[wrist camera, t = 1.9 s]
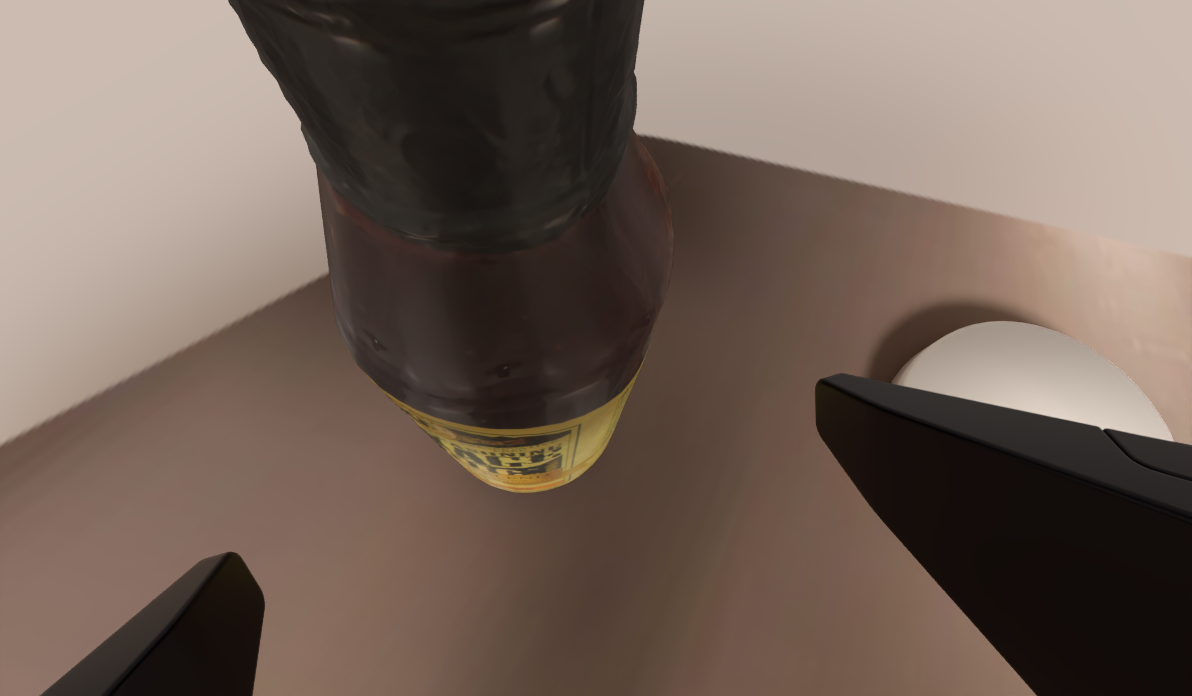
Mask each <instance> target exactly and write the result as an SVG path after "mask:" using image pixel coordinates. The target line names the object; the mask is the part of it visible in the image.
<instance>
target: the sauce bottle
mask: <svg viewBox="0 0 1192 696" xmlns="http://www.w3.org/2000/svg"><path fill="white" fill-rule="evenodd" d="M228 1H229V3H230V5H231V6H232V8H233V9H234V10H235V12H236V13H237V14H238V16H239V18H240V20H241V22H242V25H243V27H244V29H245V31H246V33H247V35H248V36H249V38H250V40H251V41H252V43H253V44H254V46H255V47H256V49H257V51H258V54H259V57H260V59H261V61H262V63H263V64H264V65H265V66H266V68H267V69H268V70H269V71H270V72H271V74H272V75H273V76H274V77H275V79H276V80H277V82H278V84H279V86H280V88H281V90H282V92H283V95H284V97H285V98H286V100H287V101H288V103H289V104H290V105H291V106H292V108H293V109H294V111H295V112H296V114H297V116H298V118H299V119H300V121H301V131H302V133H303V135H304V137H305V140H306V142H307V145H308V148H309V152H310V154H311V156H312V158H313V160H314V162H315V163H316V168H317V177H318V185H319V193H320V202H321V210H322V218H323V226H324V234H325V242H326V249H327V258H328V266H329V273H330V281H331V289H332V297H333V305H334V313H335V318H336V324H337V327H338V330H339V333H340V336H341V338H342V340H343V342H344V344H345V346H346V348H347V350H348V352H349V353H350V355H351V356H352V357H353V359H354V360H355V362H356V363H357V365H358V366H359V367H360V368H361V370H362V371H363V372H364V373H365V374H366V375H367V376H368V377H369V378H370V379H371V380H372V381H373V382H374V383H375V384H376V385H377V386H378V387H379V388H380V389H381V390H382V391H383V392H384V393H385V395H386V396H387V397H388V398H389V399H391V400H392V401H393V402H394V403H395V404H396V405H397V406H399V407H400V408H401V410H402V411H404V412H405V413H406V414H408V415H409V416H410V417H411V418H412V420H414V421H415V422H416V423H417V424H418V426H419V427H420V428H421V429H422V430H424V431H425V432H426V433H427V434H428V435H429V436H430V437H431V438H432V439H434V441H435V442H436V443H438V445H439V446H440V447H441V448H443V449H445V450H446V451H447V452H448V453H449V454H450V455H451V456H452V457H454V458H455V459H456V460H457V461H458V462H459V463H460V464H461V465H462V466H463V467H464V468H466V469H467V470H468V471H469V472H470V473H472V474H473V475H474V476H476V477H477V478H478V479H480V480H482V481H484V482H486V483H487V484H489V485H491V486H494V487H497V488H500V489H504V490H507V491H511V492H541V491H545V490H549V489H553V488H556V487H559V486H562V485H564V484H567V483H569V482H571V481H572V480H574V479H576V478H577V477H579V476H580V475H581V474H583V473H584V472H585V471H586V470H587V469H588V468H589V467H590V466H591V465H592V464H593V463H594V462H595V461H596V460H597V459H598V458H599V456H600V455H601V454H602V452H603V451H604V449H605V448H606V446H607V444H608V442H609V441H610V438H611V436H612V434H613V431H614V429H615V427H616V424H617V422H618V419H619V417H620V414H621V412H622V410H623V407H624V404H625V402H626V400H627V398H628V395H629V393H630V391H631V389H632V386H633V384H634V382H635V379H636V377H637V375H638V373H639V371H640V368H641V366H642V364H643V362H644V359H645V357H646V354H647V352H648V349H649V347H650V343H651V339H652V335H653V331H654V327H655V322H656V319H657V317H658V314H659V311H660V309H661V307H662V304H663V301H664V299H665V298H666V296H667V295H668V291H667V290H668V287H669V281H670V275H671V269H672V265H673V262H672V260H673V255H674V248H673V245H674V240H673V238H674V230H673V224H672V207H671V202H670V197H669V190H668V187H667V185H666V182H665V180H664V178H663V176H662V174H661V172H660V170H659V168H658V166H657V164H656V163H655V161H654V159H653V158H652V156H651V155H650V153H649V152H648V150H647V149H646V147H645V146H644V145H643V144H642V142H641V140H640V139H639V138H638V137H637V135H636V133H635V132H634V130H633V125H634V120H635V115H636V107H637V82H636V76H635V74H634V69H635V62H636V54H637V49H638V40H639V32H640V25H641V18H642V12H643V5H644V0H228Z"/></svg>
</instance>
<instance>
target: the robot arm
mask: <svg viewBox="0 0 1192 696" xmlns="http://www.w3.org/2000/svg"><path fill="white" fill-rule="evenodd" d="M815 406H816V426H817V430H818V432H819V435H820V436H821V438H822V440H823V441H824V442H825V444H826V445H827V447H828V448H829V449H830V451H831V452H832V454H833V455H834V456H835V458H836V459H837V461H838V462H839V463H840V465H841V466H842V468H843V469H844V470H845V472H846V473H847V475H848V476H849V477H850V479H851V480H852V482H853V483H854V484H855V486H856V487H857V489H858V490H859V491H860V493H861V494H862V496H863V497H864V498H865V500H866V501H867V502H868V504H869V505H870V506H871V508H872V509H873V510H874V511H875V513H876V514H877V515H878V516H879V517H880V519H881V520H882V521H883V522H884V523H885V524H886V525H887V527H888V528H889V529H890V530H891V531H892V532H893V533H894V535H895V536H896V537H897V538H898V539H899V540H900V541H901V542H902V544H903V545H904V546H905V547H906V548H907V549H908V550H909V551H910V553H911V554H912V555H913V556H914V557H915V558H916V559H917V561H918V562H919V563H920V564H921V565H922V566H923V567H924V568H925V570H926V571H927V572H928V573H929V574H930V575H931V576H932V577H933V579H934V580H935V581H936V582H937V583H938V584H939V585H940V587H941V588H942V589H943V590H944V591H945V592H946V593H947V594H948V596H949V597H950V598H951V599H952V600H953V601H954V602H955V603H956V605H957V606H958V607H959V608H960V609H961V610H962V611H963V613H964V614H965V615H966V616H967V617H968V618H969V619H970V620H971V622H972V623H973V624H974V625H975V626H976V627H977V628H978V629H979V631H980V632H981V633H982V634H983V635H984V636H985V637H986V639H987V640H988V641H989V642H990V643H991V644H992V645H993V646H994V648H995V649H996V650H997V651H998V652H999V653H1000V654H1001V655H1002V657H1003V658H1004V659H1005V660H1006V661H1007V662H1008V663H1009V665H1010V666H1011V667H1012V668H1013V669H1014V670H1015V671H1016V672H1017V674H1018V675H1019V676H1020V677H1021V678H1022V679H1023V680H1024V681H1025V683H1026V684H1027V685H1028V686H1029V687H1030V688H1031V689H1032V691H1033V692H1034V693H1035V694H1036V695H1037V696H1192V445H1188V444H1183V443H1178V442H1173V441H1168V440H1163V439H1158V438H1152V437H1147V436H1142V435H1137V434H1133V433H1128V432H1123V431H1118V430H1114V429H1109V428H1105V429H1103V430H1102V429H1101V428H1100V427H1098V426H1094V425H1089V424H1084V423H1079V422H1074V421H1070V420H1065V419H1060V418H1055V417H1050V416H1046V415H1041V414H1036V413H1031V412H1026V411H1022V410H1017V409H1012V408H1007V407H1002V406H998V405H993V404H988V403H983V402H978V401H974V400H969V399H964V398H959V397H954V396H950V395H945V394H940V393H935V392H930V391H926V390H921V389H916V388H911V387H906V386H901V385H897V384H892V383H887V382H882V381H877V380H873V379H868V378H863V377H858V376H853V375H849V374H843V373H841V374H836V375H833V376H829V377H826V378H823V379H820V380H819V381H818V382H817V384H816V387H815ZM264 610H265V601H264V596H263V593H262V590H261V588H260V587H259V585H258V584H257V582H256V580H255V579H254V577H253V575H252V574H251V572H250V571H249V569H248V567H247V566H246V564H245V562H244V561H243V559H242V558H241V557H240V555H238V554H237V553H235V552H227V553H223V554H220V555H216V556H213V557H209V558H206V559H203V560H201V561H200V562H198V563H197V564H196V565H195V566H193V567H192V568H191V569H190V570H189V571H187V572H186V573H185V574H184V575H183V576H181V577H180V578H179V579H178V580H177V581H175V582H174V583H173V584H172V585H171V586H170V587H168V588H167V589H166V590H165V591H164V592H162V593H161V594H160V595H159V596H158V597H156V598H155V599H154V600H153V601H152V602H151V603H149V604H148V605H147V606H146V607H145V608H143V609H142V610H141V611H140V612H139V613H137V614H136V615H135V616H134V617H133V618H131V619H130V620H129V621H128V622H127V623H126V624H124V625H123V626H122V627H121V628H120V629H118V630H117V631H116V632H115V633H114V634H112V635H111V636H110V637H109V638H108V639H107V640H105V641H104V642H103V643H102V644H101V645H99V646H98V647H97V648H96V649H95V650H93V651H92V652H91V653H90V654H89V655H87V656H86V657H85V658H84V659H83V660H82V661H80V662H79V663H78V664H77V665H76V666H74V667H73V668H72V669H71V670H70V671H68V672H67V673H66V674H65V675H64V676H63V677H61V678H60V679H59V680H58V681H57V682H55V683H54V684H53V685H52V686H51V687H49V688H48V689H47V690H46V691H45V692H43V693H42V694H41V695H40V696H253V689H254V681H255V674H256V667H257V660H258V653H259V646H260V639H261V632H262V624H263V617H264Z"/></svg>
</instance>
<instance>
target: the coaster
mask: <svg viewBox="0 0 1192 696" xmlns="http://www.w3.org/2000/svg"><path fill="white" fill-rule="evenodd" d="M891 383H892V384H897V385H901V386H906V387H911V388H916V389H921V390H926V391H930V392H935V393H940V394H945V395H950V396H954V397H959V398H964V399H969V400H974V401H978V402H983V403H988V404H993V405H998V406H1002V407H1007V408H1012V409H1017V410H1022V411H1026V412H1031V413H1036V414H1041V415H1046V416H1050V417H1055V418H1060V419H1065V420H1070V421H1074V422H1079V423H1084V424H1089V425H1094V426H1098V427H1100V428H1101V429H1102V430H1103V429H1105V428H1109V429H1114V430H1118V431H1123V432H1128V433H1133V434H1137V435H1142V436H1147V437H1152V438H1158V439H1163V440H1168V441H1173V442H1174V440H1173V438H1172V435H1171V433H1170V431H1169V430H1168V428H1167V426H1166V424H1165V422H1164V421H1163V419H1162V417H1161V416H1160V414H1159V413H1158V411H1157V410H1156V408H1155V407H1154V406H1153V404H1152V403H1151V401H1150V400H1149V399H1148V398H1147V396H1146V395H1145V394H1144V393H1143V392H1142V391H1141V389H1140V388H1139V387H1138V386H1137V385H1136V384H1135V383H1134V382H1133V381H1132V380H1131V379H1130V378H1129V377H1128V376H1127V375H1126V374H1125V373H1124V372H1123V371H1122V370H1121V369H1119V368H1118V367H1117V366H1116V365H1114V364H1113V363H1112V362H1111V361H1110V360H1108V359H1107V358H1106V357H1104V356H1103V355H1101V354H1100V353H1098V352H1097V351H1095V350H1094V349H1092V348H1091V347H1089V346H1087V345H1085V344H1083V343H1081V342H1080V341H1078V340H1076V339H1074V338H1072V337H1069V336H1067V335H1065V334H1062V333H1060V332H1058V331H1055V330H1051V329H1048V328H1045V327H1042V326H1038V325H1033V324H1028V323H1023V322H1012V321H992V322H984V323H978V324H973V325H970V326H966V327H963V328H960V329H958V330H956V331H954V332H952V333H949V334H947V335H945V336H944V337H942V338H941V339H939V340H938V341H936V342H934V343H933V344H931V345H930V346H928V347H927V348H925V349H923V350H922V351H920V352H919V353H918V354H916V355H915V356H913V357H912V358H911V359H910V360H909V361H908V362H907V363H906V364H905V365H904V366H903V367H902V368H901V369H900V370H899V372H898V373H897V374H896V376H895V377H894V378H893V380H892V382H891Z"/></svg>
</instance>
